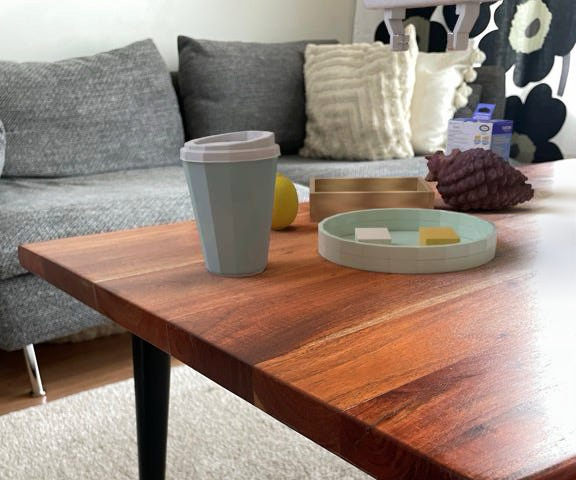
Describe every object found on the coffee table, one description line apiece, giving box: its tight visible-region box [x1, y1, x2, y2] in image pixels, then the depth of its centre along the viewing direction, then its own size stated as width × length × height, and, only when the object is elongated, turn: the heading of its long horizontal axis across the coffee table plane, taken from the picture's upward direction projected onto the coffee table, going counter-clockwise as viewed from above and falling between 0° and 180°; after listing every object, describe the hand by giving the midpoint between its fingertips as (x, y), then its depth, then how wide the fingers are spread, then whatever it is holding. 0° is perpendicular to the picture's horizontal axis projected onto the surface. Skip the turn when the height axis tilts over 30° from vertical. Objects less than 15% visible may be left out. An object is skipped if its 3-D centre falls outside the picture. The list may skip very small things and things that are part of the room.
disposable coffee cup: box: [179, 130, 282, 278], centre depth 78 cm, size 11×11×15 cm
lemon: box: [271, 172, 299, 231], centre depth 98 cm, size 6×6×8 cm
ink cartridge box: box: [444, 102, 514, 163], centre depth 120 cm, size 10×6×14 cm, turn 36°
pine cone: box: [424, 147, 535, 212], centre depth 110 cm, size 18×10×10 cm
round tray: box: [317, 208, 499, 275], centre depth 87 cm, size 21×21×4 cm
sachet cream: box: [355, 228, 392, 245], centre depth 87 cm, size 4×6×2 cm, turn 178°
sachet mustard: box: [419, 227, 460, 246], centre depth 87 cm, size 4×6×2 cm, turn 178°
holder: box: [308, 176, 436, 223], centre depth 108 cm, size 18×14×5 cm
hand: (426, 51), depth 82 cm, fingers open, 8 cm apart
